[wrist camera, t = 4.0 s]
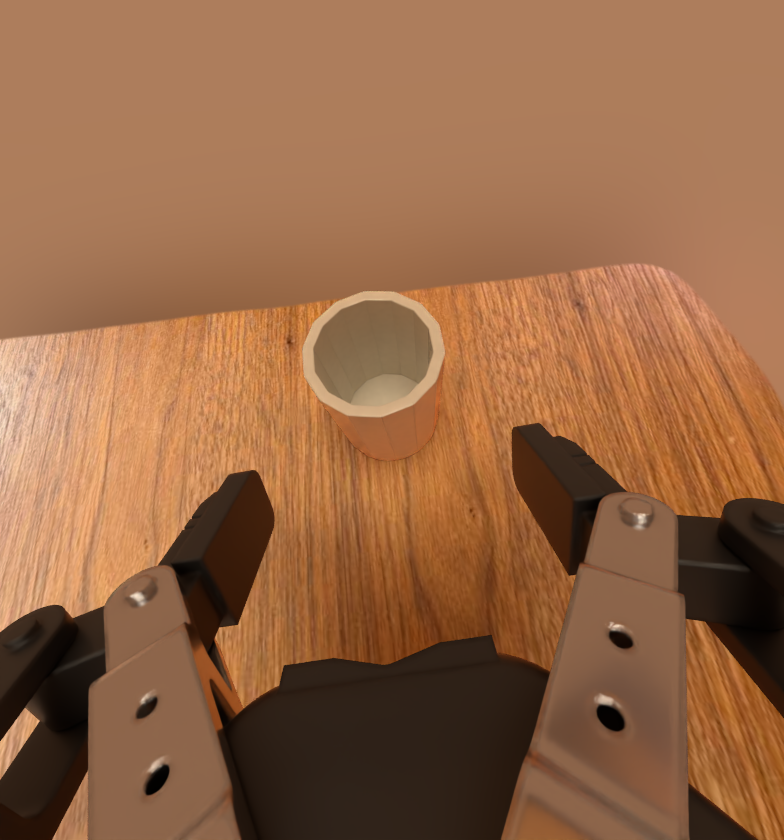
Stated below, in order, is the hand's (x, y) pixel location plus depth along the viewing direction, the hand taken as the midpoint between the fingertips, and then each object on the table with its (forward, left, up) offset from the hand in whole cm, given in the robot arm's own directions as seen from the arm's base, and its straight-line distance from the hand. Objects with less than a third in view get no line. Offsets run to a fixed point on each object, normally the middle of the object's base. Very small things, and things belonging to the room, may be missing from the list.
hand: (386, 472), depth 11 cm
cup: (-4, -4, -10) cm, 11 cm away
